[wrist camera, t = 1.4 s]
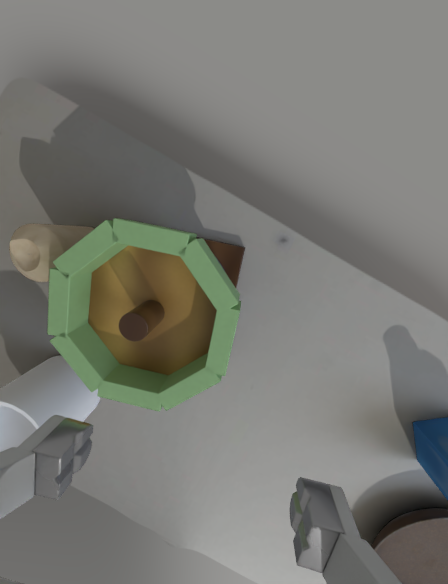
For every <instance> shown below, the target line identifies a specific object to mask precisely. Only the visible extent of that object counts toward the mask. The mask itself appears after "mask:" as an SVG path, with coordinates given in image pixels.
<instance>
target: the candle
mask: <svg viewBox="0 0 448 584" xmlns="http://www.w3.org/2000/svg"><path fill="white" fill-rule="evenodd" d="M94 229H95V228H92V227H85V226H67V225H49V224H26V225H23V226H21V227H19V228H18V229H17V230H16V231H15V232H14V234H13V236H12V238H11V241H10V246H9V251H10V256H11V259H12V261H13V263H14V265H15V267H16V268H17V269H18V270H19V271H20V272H21V273H22V274H23V275H24V276H25V277H27V278H29V279H31V280H33V281H37V282H47V281H49V270H50V268H54V267H56V266H55V265H54V263H53V261H54V260H56V259H57V258H58V257H59V256H61V255H62V254H63V253H64V252H66V251H67V250H68V249H70V248H71V247H72V246H73V245H75V244H76V243H77V242H78V241H80V240H81V239H82V238H84V237H85V236H86V235H87V234H89V233H90V232H91V231H92V230H94Z"/></svg>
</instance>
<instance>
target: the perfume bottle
mask: <svg viewBox="0 0 448 584" xmlns="http://www.w3.org/2000/svg"><path fill="white" fill-rule="evenodd" d="M413 429H414V437H415V445H416V453H417V460H418V462H419V463H420V464H421V466H422V467H423V468H424V470H425V471H426V472H427V474H428V475H429V476H430V478H431V479H432V480H433V482H434V483H435V484H436V486H437V487H438V488H439V490H440V491H441V492H442V494H443V495H444V496H445V498H446V499H447V500H448V417H445V418H438V419H431V420H423V421H416V422H413Z"/></svg>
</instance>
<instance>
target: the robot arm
mask: <svg viewBox="0 0 448 584" xmlns="http://www.w3.org/2000/svg"><path fill="white" fill-rule="evenodd" d="M92 433H93V425H91V424H89V423H85V422H82V421H78V420H75V419H71V418H67V417H63V416H60V415H54V416H51V417H50V418H49V419H48V420H47V421H46V422H45V423H44V424H42V425H41V426H40V427H39V428H38V429H37V430H36V431H35V432H34V433H33V434H31V435H30V436H29V437H28V438H27V439H26V440H25V441H24V442H23V443H22V444H20V445H19V446H18V447H17V448H16V447H11V448H9V449H7V450H4V451H2V452H0V519H1V518H3V517H4V516H5V515H7V514H9V513H10V512H11V511H13V510H14V509H16V508H17V507H19V506H20V505H22V504H23V503H25V502H26V501H28V500H29V499H31V498H32V497H34V495H38V496H43V497H47V498H51V499H56V500H59V498H60V497H61V495H62V494H63V493H64V491H65V490H66V489H67V487H68V486H69V485H70V483H71V482H72V474H74V473H75V472H77V471H79V470H80V469H81V468H82V466H83V465H84V464H85V462H86V460H87V458H88V456H89V454H90V450H91V446H92V441H91V439H90V438H89V437H90V435H91V434H92ZM296 487H297V492H295V493H293V495H292V498H291V502H290V521H291V526H292V528H293V530H294V531H295V533H296V535H295V537H294V540H293V542H294V549H295V556H296V562H297V565H298V566H301V567H304V568H307V569H311V570H314V571H317V572H320V573H323V577H324V579H325V580H326V582H327V584H402V583H401V582H400V581H399V579H398V578H397V577H396V576H395V575H394V573H393V572H392V571H391V570H390V569H389V567H388V566H387V565H386V564H385V563H384V561H383V560H382V559H381V558H380V557H379V555H378V554H377V553H376V552H375V551H374V549H373V548H372V547H371V546H370V545H369V543H368V542H367V541H366V540H364V539H361V537H360V534H359V531H358V529H357V526H356V523H355V521H354V518H353V515H352V513H351V510H350V508H349V505H348V502H347V500H346V497H345V494H344V492H343V490H342V488H341V487H338V486H334V485H330V484H326V483H322V482H318V481H314V480H310V479H306V478H301V477H300V478H299V479H298V481H297V483H296ZM0 584H23V583H19V582H16V581H12V580H9V579H5V578H2V577H0Z"/></svg>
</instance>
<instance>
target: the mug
mask: <svg viewBox="0 0 448 584" xmlns="http://www.w3.org/2000/svg"><path fill="white" fill-rule="evenodd" d="M97 394H98V389H97V390H95V391H93V392H91V391H90V390H89V389H88V388H87V386H86V385H85V384H84V383H83V382H82V380H81V379H80V378H79V377H78V375H77V374H76V373H75V372H74V370H73V369H72V368H71V367H70V365H69V364H68V363H67V362H66V360H65V359H64V358H63V357H62V355H59V356H54V357H51V358H49V359H47V360H46V361H44V362H42V363H41V364H39V365H37V366H36V367H34V368H33V369H31V370H29V371H28V372H26V373H25V374H23V375H21V376H20V377H18V378H17V379H15V380H13V381H12V382H10V383H8V384H7V385H5V386H4V387H2V388H0V452H2V451H4V450H7V449H9V448H11V447H16V448H17V447H18V446H19V445H20V444H22V443H23V442H24V441H25V440H26V439H27V438H28V437H29V436H30V435H31V434H33V433H34V432H35V431H36V430H37V429H38V428H39V427H40V426H41V425H42V424H44V423H45V422H46V421H47V420H48V419H49V418H50V417H51V416H54V415H60V416H63V417H67V418H71V419H75V420H78V421H82V422H83V421H84V420H85V419H86V418H87V417H88V415H89V414H90V413H91V412H92V411H93V410H94V409H95V407H96V406H97V404H98V403H99V401H100V397H98V396H97Z"/></svg>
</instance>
